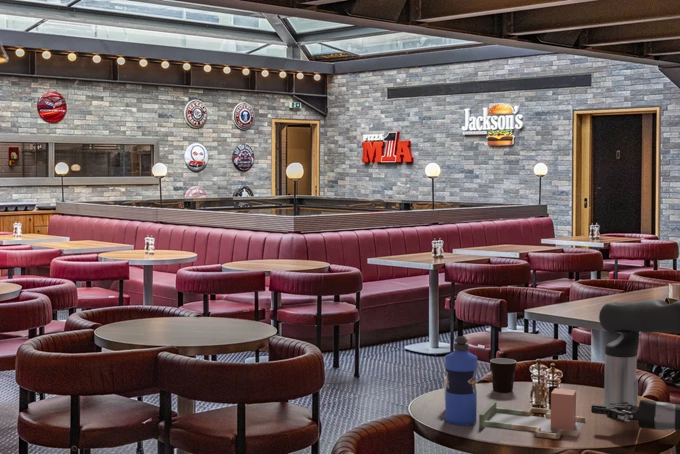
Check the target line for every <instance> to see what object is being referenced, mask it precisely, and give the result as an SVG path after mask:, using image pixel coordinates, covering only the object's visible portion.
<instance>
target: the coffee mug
mask: <svg viewBox="0 0 680 454" xmlns="http://www.w3.org/2000/svg"><path fill="white" fill-rule="evenodd" d="M489 363H490V373H491V383H492V391H493V392H495V393H497V394H498V393H500V394H509V393H513V391H514V382H515V374H516V369H517V360H515V359H512V358H507V357H506V358H503V357H498V358H492V359H490V360H489Z"/></svg>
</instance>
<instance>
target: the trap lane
mask: <svg viewBox="0 0 680 454" xmlns="http://www.w3.org/2000/svg"><path fill="white" fill-rule="evenodd" d="M532 413H536V414H545V417H543V416H534V415H531V414H532ZM478 416H479V417H478V418H479V419H478V421H479V423H478V428H479V429H481V428H482V429H485V428H486V427H493V428H501V429H502V428H503V429H510V430H518V431H526V432H533V433H534V434H533V436H534V437H538V438H546V439H552V440H554V439H555V440H560V439H561V437H562V436H568V437H576V438H577V437H578V436H579V434H580V432H581V430H582V428H583V426H584V425H585V422H586V416H578V415H576V424H575V427H574V428H573V430H563V429H554V428H551V408H544V407H543V408H540V407H532V406H529V407H528V409H527V410H525V409H515V408H506V407H498V406H497V401H496V400H492V401H491V402H490V403H489V404H488V405H487V406H486V407H485V408H484V409H483V410H482V411H481V412H480V413H479V415H478Z"/></svg>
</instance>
